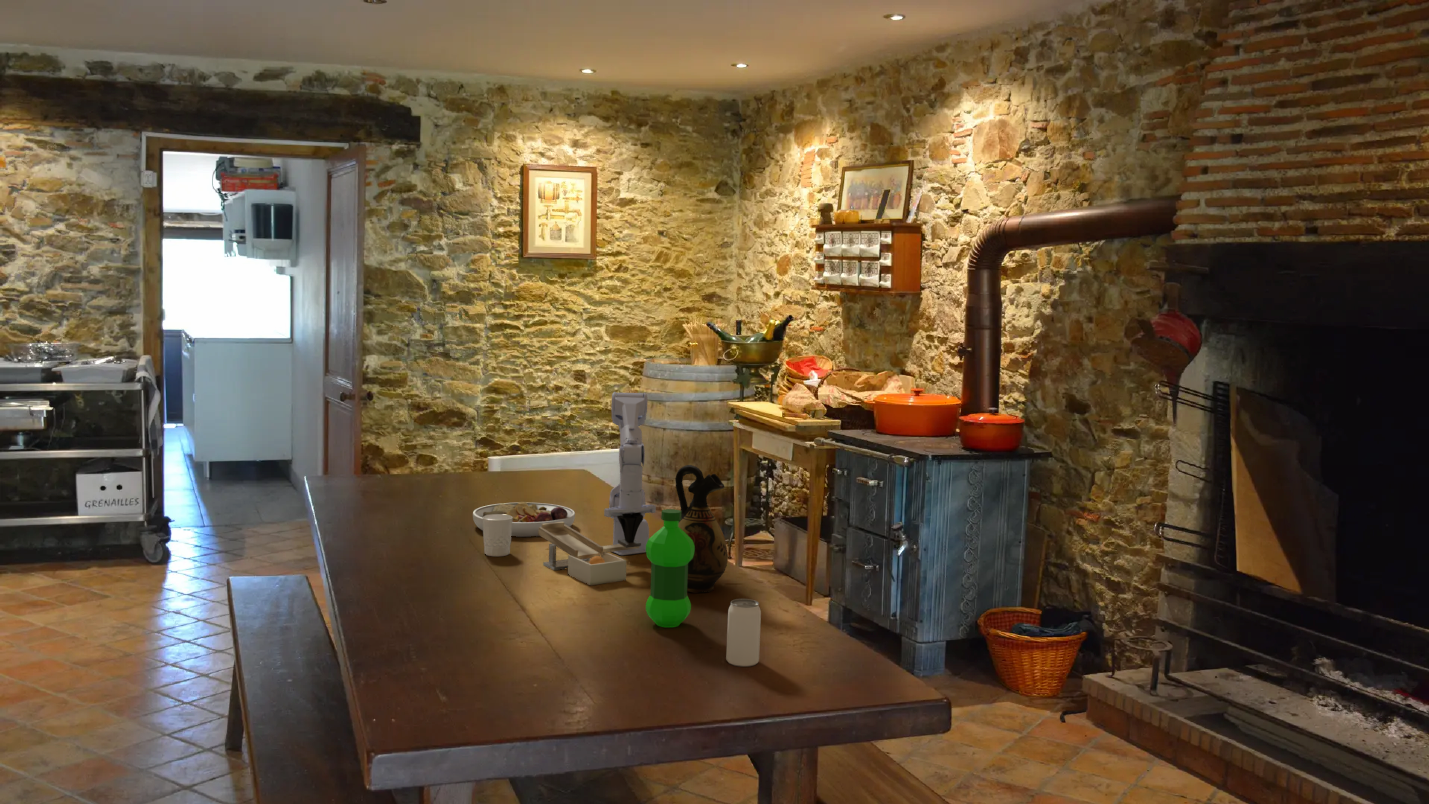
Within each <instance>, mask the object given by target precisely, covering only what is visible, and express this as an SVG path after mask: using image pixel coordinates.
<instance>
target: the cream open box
mask: <svg viewBox="0 0 1429 804" xmlns="http://www.w3.org/2000/svg"><path fill="white" fill-rule="evenodd" d="M600 557H602V558H603V559H604V561H605V563H599V564H589V562H590V560H591V559H590V560H589V561H583V560H580V559H578V558H576V557H573V556H571V555H569V554H568V556H567V559H568V569H567V575H568V574H569V575H570V577H571V576H572V578H573V577H575V578H576V580H578V581H579V582H582V583H585V584H586V583H587V584H586V585H588V586H595V585H601V584H608V583H609V584H610V583H616V582H622V581H623V580H624V581H627V560H626V559H623V558H621V557H618V556H616V555H614V554H611V553H610V552H604V553H603V554H602V555H600ZM569 575H568V576H569ZM575 578H574V579H575ZM624 581H623V582H624Z"/></svg>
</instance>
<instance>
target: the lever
mask: <svg viewBox="0 0 1429 804" xmlns="http://www.w3.org/2000/svg"><path fill="white" fill-rule="evenodd" d="M564 523H565V522H554V523H544V524H542V527H539V531H538V535H540V536H539V537H542V538H543V539H545V540H546V541H548V542H549V543H550V544H555V545H556V548H559V549H560V550H562V552H565V554H568V555H571V556H573V557H576V558H578V559H587V558H590V559H591V558H593V557H595V556H600V557H601V555H602V554H603V553H604V552H607V553H610V552H612V553H614V552H613V551H620V550H628V549H636V548H639V546H641V543H640V542H638V541H637V540H635V539H634V542H633V543H628V542H627V541H625V539H620V540H618V543H619V544H616V545H613V544H609V545H600V544H599V543H597V542H595V541H594V540H592V539H591V538H589V537H587V536H585V535H584V534H583V533H581V532H579V531H578V530H575V528H572V526H570V527H569V526H567V525H566V524H565V525H564Z"/></svg>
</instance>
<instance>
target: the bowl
mask: <svg viewBox="0 0 1429 804" xmlns="http://www.w3.org/2000/svg"><path fill="white" fill-rule="evenodd" d="M491 514H504V515H510V516H512V517H513V520H512V536H516V538H530V537H531V536H536V537H541V536H540V535H538V531H539V527H542V524H544V523H554V522H565V523H564V525H565V524H566V525H567V526H569V527H572V525H573V524H574V523H575V522H574V521H575V519H576V512H575V511H574V509H571V508H570V507H567V506H563V505H558V504H552V503H541V502H527V501H519V502H506V503H495V504H489V505H485V506H480V507H478V508H475V509H474V510H473V512H472V519H473V522H474V524H475V525H476V527H477V528H478V529H480V530H481V531H483V516H486V515H491ZM531 538H532V537H531Z"/></svg>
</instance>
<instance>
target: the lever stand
mask: <svg viewBox="0 0 1429 804" xmlns="http://www.w3.org/2000/svg"><path fill="white" fill-rule="evenodd" d="M580 560H583V561H589V560H591V558H587V559H580ZM542 565H543V566H545V567H546V568H548V569H550V568H551V570H553V571H560V569H562V570H566V569H565V568H568V558H567V559H566V558H565V559H560V560H559V559H557V546H556V545H555V544H552V543H549V544H548V561H543V564H542Z"/></svg>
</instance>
